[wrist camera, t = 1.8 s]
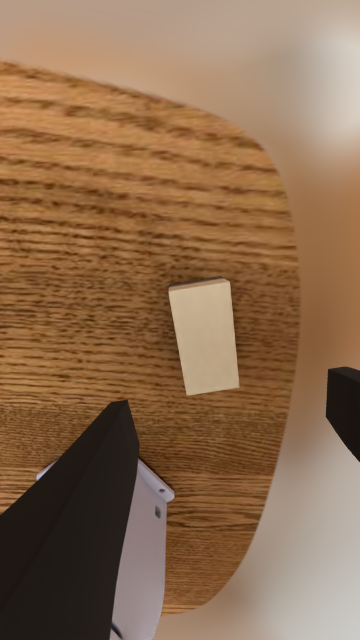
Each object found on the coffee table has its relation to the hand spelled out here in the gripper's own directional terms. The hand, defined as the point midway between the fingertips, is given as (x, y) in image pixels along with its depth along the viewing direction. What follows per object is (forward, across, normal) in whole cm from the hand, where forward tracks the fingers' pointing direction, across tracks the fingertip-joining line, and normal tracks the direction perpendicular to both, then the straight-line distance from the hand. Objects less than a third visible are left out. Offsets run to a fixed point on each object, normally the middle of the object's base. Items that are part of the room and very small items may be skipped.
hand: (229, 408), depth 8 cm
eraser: (+8, 0, 0) cm, 8 cm away
